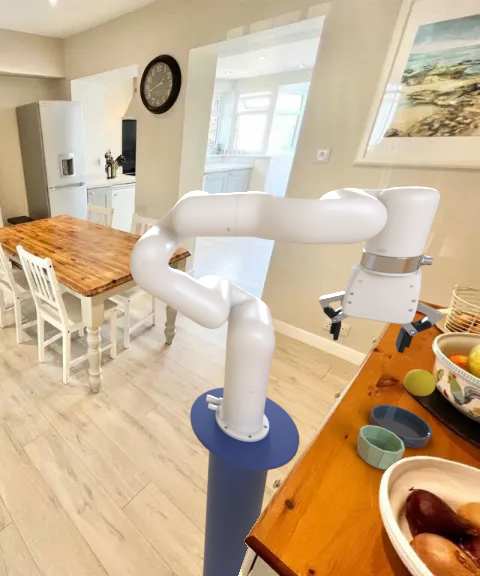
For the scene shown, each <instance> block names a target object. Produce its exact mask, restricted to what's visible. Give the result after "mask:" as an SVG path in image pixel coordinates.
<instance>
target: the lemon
mask: <svg viewBox="0 0 480 576" xmlns="http://www.w3.org/2000/svg"><path fill="white" fill-rule="evenodd" d="M435 381H436V378H435V377H434V375H433V374H432V373H430V372H429V371H427V370H425V369H420V368H419V369H418V368H417V369H412V370H409V371H408V372H407V373H406V374H405V376H404V378H403V381H402V382H403V387H404V388H405V390H406V391H407V392H409V394H412V395H413V396H415V397H416V396H418V397H427V396H429V395H431V394H432V393H433V392H434V391H435V389H436V386H437V383H436V382H435Z"/></svg>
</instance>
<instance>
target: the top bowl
mask: <svg viewBox="0 0 480 576" xmlns="http://www.w3.org/2000/svg"><path fill="white" fill-rule="evenodd" d="M356 438H357V439H356V441H357V453H358V455H359V457H360V458H361V459H362V460H363V461H364V462H365V463H367V464H369V465H370V466H372V467H374V468H376V469H380V470H389V469H388V468H389V467H390V466H391V465H392V464H393V463H395V462H396V463H397V462H399V461H401V460H402V457H403V455H404V453H405V451H406V448H405V447H406V446H404V443H403V441H402V440H401V439H400V438H399V437H398V436H396V435H395V434H394V433H393V432H391V431H389V430H386V429H384V428H382V427H379V426H373V425H371V424H366V425H364V426H362V427H360V428H359V431H358V434H357V437H356ZM396 463H395V464H396Z"/></svg>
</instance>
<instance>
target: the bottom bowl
mask: <svg viewBox="0 0 480 576" xmlns="http://www.w3.org/2000/svg"><path fill="white" fill-rule="evenodd" d="M368 421H369V425H373V426H379V427H382V428H384V429H386V430H389V431H391V432H393V433H394V434H395V435H396V436H398V437H399V438H400V439H401V440H402V441H403V443H404V447H406V448H414V449H418V448H419V449H420V448H424V447H425V446H427V445H428V444H429V441H430V440H431V438H432V435H433V431H432V427H431V426H430V425H429V424H428V422H427V421H426V420H425V419H423V418H422V417H421V416H419V415H418V414H416V413H415V412H412V411H410V410H408V409H405V408H403V407H401V406H400V407H399V406H397V405H392V404H378V405H375V406H373V407H372V409H371V410H370V413H369V417H368Z"/></svg>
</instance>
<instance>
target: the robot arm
mask: <svg viewBox="0 0 480 576" xmlns="http://www.w3.org/2000/svg"><path fill="white" fill-rule="evenodd" d="M440 200H441V194H440V192H439V190H437V189H435V188H432V187H427V186H399V187H398V186H397V187H390V188H387V189H375V188H374V189H371V188H353V187H345V188H344V187H343V188H338V189H337V188H336V189H334V190H331V191H329V192H327V193H326V194H324V195H323V196H322V197H321V198H296V197H295V198H294V197H286V196H279V195H275V194H272V193H268V192H263V191H247V192H231V193H230V192H229V193H208V192H206V191H203V190H192V191H189V192H187V193H185V194H184V195H183V196H182V197H180V199H179V200H178V201H177V202H176V203H175V204H174V206H172V207H171V209H170V210H169V211H168V212H166V213H165V215H163V216H162V217H161V218H160V219H159V220H158V221H157V222H156V223H154V225H152V226H151V227H150V228H149V229H148V230H147V231H145V233H144V234H143V235H142V236H141V237H140V238H139V239H138V240H137V241H136V242H135V243H134V246H133V247H132V250H131V251H130V256H129V270H130V274H131V277H132V279H133V281H134V282H135V284H136V285H137V287H139V289H141V290H142V291H143V292H145V293H146V294H148V295H150V296H151V297H154V298H155V299H157V300H159V301H161V302H162V303H164V304H165V305H167V306H169V307H170V308H172V309H174V311H176V312H178V313H179V314H181V315H183V316H184V317H186V318H188V319H189V320H190V321H192V322H193V323H195V324H197V325H199V326H200V327H202V328H204V329H205V328H206V329H209V330H215V329H219V328H222V326H224V325H225V323H226V322H227V328H226V341H225V342H226V343H225V345H226V346H225V359H224V360H225V362H224V377H223V378H224V379H223V388H224V391H223V398H219V399H218V398H215V397H213V396H210V395H207V397H206V402H209V405H208V408H209V409H212V410H216V422H217V424H218V426H219V427H220V428H221V429H222V430H223V431H224V432H225V433H226V434H227V435H229V436H231V437H233V438H235V439H237V440H241V441H246V442H255V441H259V440H261V439H263V438H264V437H266V435H267V434H268V431H269V422H268V419H267V417H266V416H265V414H264V409H265V402H266V397H267V393H268V387H269V380H270V379H269V378H270V372H271V365H272V361H273V358H274V354H275V351H276V333H275V328H274V322H273V318H272V312H271V310H270V308H269V306H268V305H267V304H266V303H265V302H264V301H263V300H261V299H260V298H259V297H257V296H255V295H254V294H252V293H250V292H248V291H247V290H245V289H244V288H242V287H240V286H238V285H236V284H235V283H233V282H232V281H229V280H228V279H226V278H224V277H222V276H218V275H205V276H202V277H199V278H198V279H195V278H194V277H192V276H190V275H189V274H188V273H186V272H183V271H182V270H179V269H174V268H172V267H171V266H170V264H169V263H170V260H171V258H172V257H173V255H174V254H175V252H176V251H177V250H178V249H179V248H180V247H181V246H182V245H184V244H185V243H186V242H188V241H189V240H190V239H191V238H193V237H194V238H215V237H216V238H218V237H220V238H223V237H225V238H226V237H227V238H228V237H231V238H235V237H236V238H257V239H262V240H269V241H276V242H283V243H290V244H299V245H354V244H359V243H363V242H364V244H363V249H362V253H361V256H360V261H359V262H355V263H354V264H353V265H352V267H351V269H350V271H349V273H348V276H347V279H346V281H345V285H344V288H343V291H339V292H335V293H331V294H327V295H322V296H319V298H318V303H319V305H320V306H321V309H322V310H323V313H324V314H325V315H326V316H327V317H328V318H329V319H330V320H331V323H330V327H329V334H330V335H332V340H333V341H335V342H336V341H338V340H339V337H340V333H341V328H342V321H343V320H345V319H347V318H348V317H350V318H355V319H361V320H367V321H373V322H374V321H375V322H382V323H389V324H395V325H400V326H401V327H400V328H399V332H398V334H397V337H396V340H395V343H394V344H395V348H396V351H397V352H398V353H400V354H404V352H405V349H409V348H410V346H411V343H412V341H413V338H414V336H416V335H417V336H418V334H419V333H421V332H423V331H427V330H429V329H431V328H432V327H433V325H436V324H437V323H439V322H440V321H441V320H443V319H444V318H445V317H444V315H443V312H441V311H440V310H437V309H436V308H434V307H431V306H429V305H427V304H426V303H424V302H421V301H419V300H420V294H421V289H422V281H423V280H422V277H423V276H422V275H423V274H422V273H423V272H422V269H421V267H422V266H432V265H433V263H434V257H433V256H427V255H424V253H423V252H424V249H425V246H426V244H427V240H428V238H429V235H430V232H431V229H432V225H433V223H434V220H435V216H436V213H437V210H438V207H439V205H440ZM335 302H340V307H339V308H337V309H336V310H335V309H334V308H333V307H332V306H331V305H330V304H332V303H335ZM417 311H418V312H419V313H422V314H423V315H425V317H424V318H420V319H418V320H415V321H414V318H415V317H416V312H417ZM210 403H212V404H210ZM213 404H216V405H218V406H215V405H213Z"/></svg>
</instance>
